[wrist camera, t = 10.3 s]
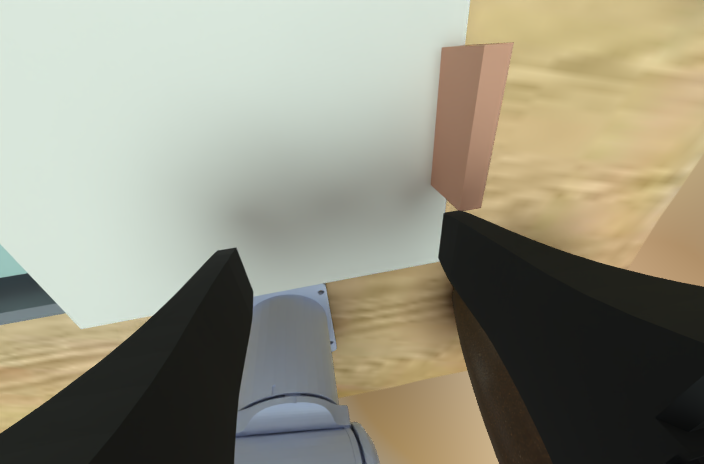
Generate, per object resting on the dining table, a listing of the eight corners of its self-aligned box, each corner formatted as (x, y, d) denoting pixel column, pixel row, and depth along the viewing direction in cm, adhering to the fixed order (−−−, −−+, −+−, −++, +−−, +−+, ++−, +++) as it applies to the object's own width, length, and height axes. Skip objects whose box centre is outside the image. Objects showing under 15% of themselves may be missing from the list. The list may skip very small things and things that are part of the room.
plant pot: (418, 239, 24) (582, 475, 10) (575, 208, 25) (895, 380, 12) (414, 346, 32) (503, 553, 19) (533, 317, 33) (694, 491, 20)
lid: (433, 254, 18) (463, 295, 15) (89, 317, 16) (40, 382, 13) (475, -153, 9) (574, -263, 6) (-322, -144, 7) (-858, -317, 4)
